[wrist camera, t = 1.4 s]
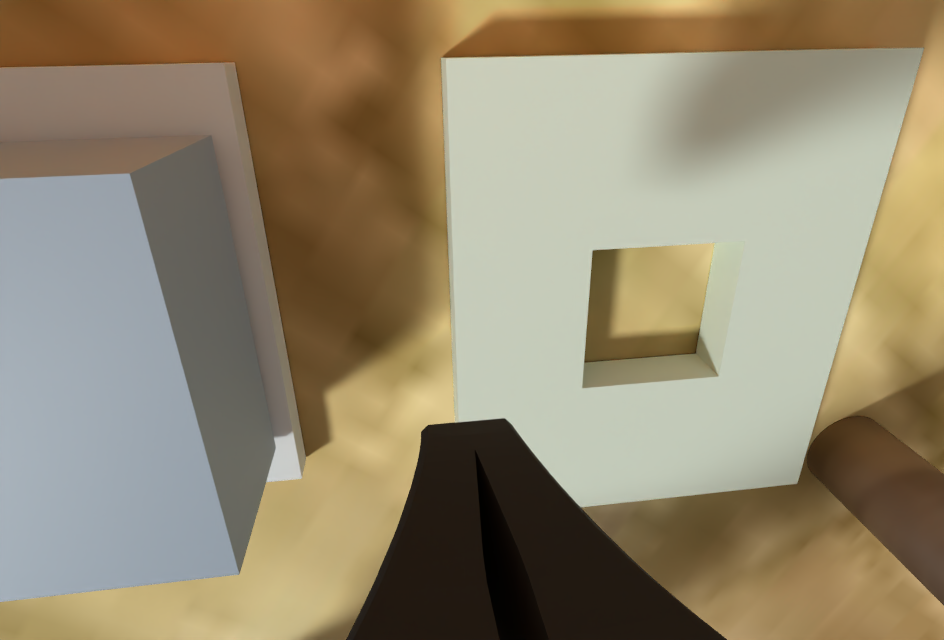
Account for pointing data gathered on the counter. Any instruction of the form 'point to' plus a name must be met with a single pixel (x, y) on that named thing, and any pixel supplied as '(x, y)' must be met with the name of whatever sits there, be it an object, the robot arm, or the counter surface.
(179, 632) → the counter surface
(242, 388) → the block
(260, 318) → the base
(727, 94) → the socket board
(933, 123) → the counter surface
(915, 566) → the peg
